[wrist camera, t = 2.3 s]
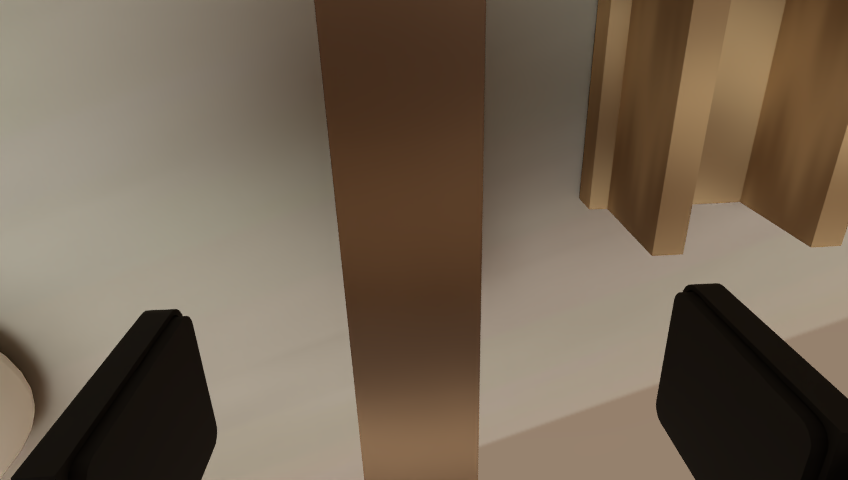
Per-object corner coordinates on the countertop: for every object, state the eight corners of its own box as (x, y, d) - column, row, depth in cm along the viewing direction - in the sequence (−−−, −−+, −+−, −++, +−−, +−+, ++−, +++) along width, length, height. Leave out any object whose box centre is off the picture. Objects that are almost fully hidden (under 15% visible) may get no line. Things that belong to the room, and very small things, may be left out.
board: (349, -15, 19) (314, -6, 10) (439, -17, 19) (485, -12, 10) (373, 294, 24) (365, 488, 15) (444, 290, 24) (477, 480, 15)
